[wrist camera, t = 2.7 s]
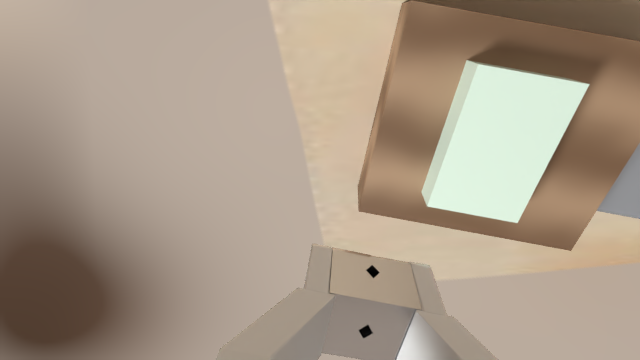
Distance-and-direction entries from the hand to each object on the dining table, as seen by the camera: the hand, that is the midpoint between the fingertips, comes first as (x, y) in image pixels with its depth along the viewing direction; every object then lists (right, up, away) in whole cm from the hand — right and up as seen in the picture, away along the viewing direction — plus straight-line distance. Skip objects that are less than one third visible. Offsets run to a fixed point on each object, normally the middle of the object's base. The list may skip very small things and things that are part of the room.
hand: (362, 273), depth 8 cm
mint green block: (+10, +5, +13) cm, 17 cm away
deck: (+11, +7, +16) cm, 21 cm away
